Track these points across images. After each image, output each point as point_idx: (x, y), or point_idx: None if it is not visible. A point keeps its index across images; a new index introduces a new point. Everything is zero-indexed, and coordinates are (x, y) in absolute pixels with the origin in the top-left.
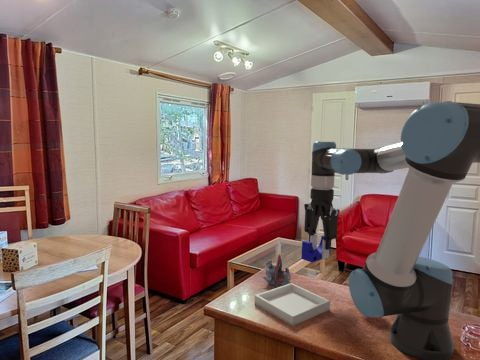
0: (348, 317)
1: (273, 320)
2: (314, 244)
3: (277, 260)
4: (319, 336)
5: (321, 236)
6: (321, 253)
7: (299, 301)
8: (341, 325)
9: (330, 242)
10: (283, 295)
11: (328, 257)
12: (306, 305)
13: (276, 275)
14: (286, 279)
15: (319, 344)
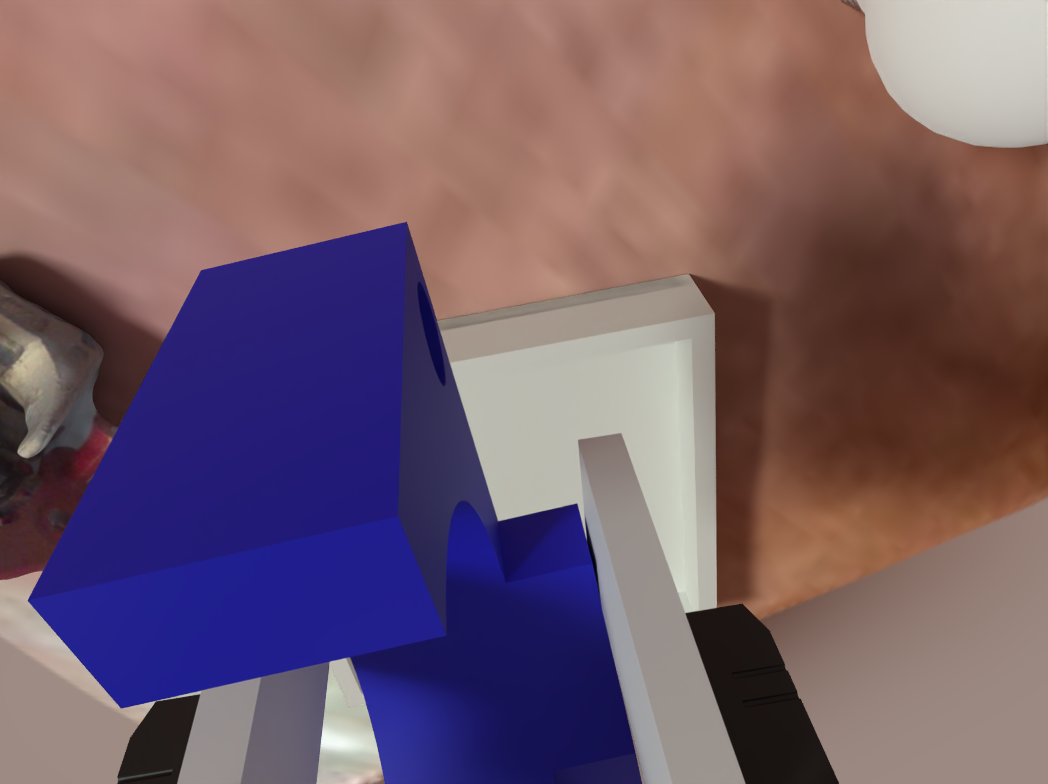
0: (864, 218)
1: None
2: (293, 703)
3: None
4: (862, 520)
5: (129, 690)
6: (494, 539)
7: (483, 435)
8: (888, 344)
9: (825, 779)
10: None
11: (625, 449)
12: (566, 425)
13: None
14: (80, 391)
15: (905, 555)
